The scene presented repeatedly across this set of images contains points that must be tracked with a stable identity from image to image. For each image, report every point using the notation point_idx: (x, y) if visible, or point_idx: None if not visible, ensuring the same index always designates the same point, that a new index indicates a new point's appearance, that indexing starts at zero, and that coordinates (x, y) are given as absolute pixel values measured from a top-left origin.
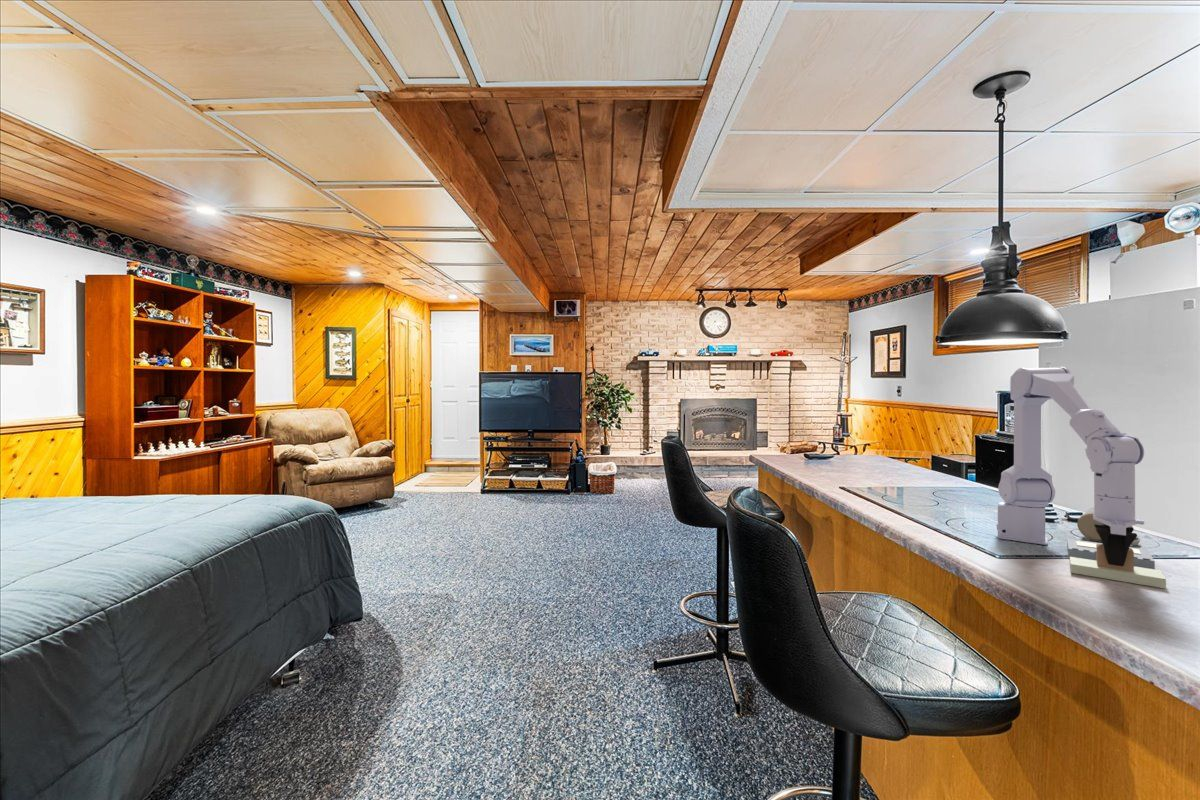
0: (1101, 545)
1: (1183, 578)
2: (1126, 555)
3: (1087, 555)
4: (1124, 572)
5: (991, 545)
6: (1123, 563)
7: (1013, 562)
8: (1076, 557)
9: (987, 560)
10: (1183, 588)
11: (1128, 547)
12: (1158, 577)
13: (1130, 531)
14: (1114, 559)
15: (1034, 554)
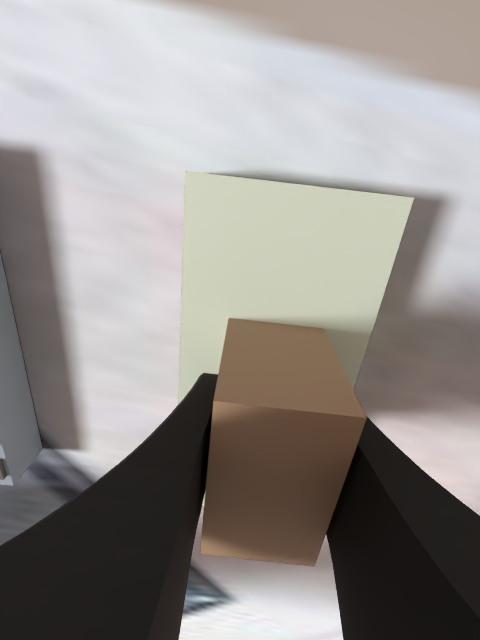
0: (257, 545)
1: (40, 9)
2: (385, 436)
3: (13, 416)
4: (357, 370)
5: None
6: None
7: (255, 577)
8: (33, 433)
9: (275, 617)
10: (306, 87)
11: (462, 506)
12: (390, 231)
13: (156, 628)
14: None
15: None
